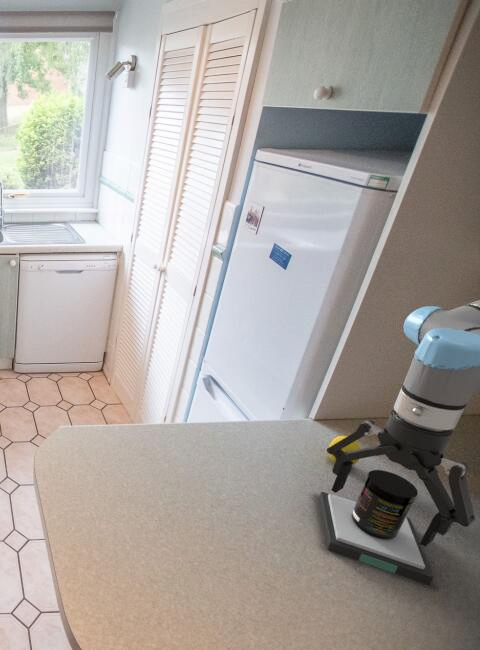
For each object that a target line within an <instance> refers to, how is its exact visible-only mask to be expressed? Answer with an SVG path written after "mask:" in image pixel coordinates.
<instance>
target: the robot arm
mask: <svg viewBox="0 0 480 650" xmlns="http://www.w3.org/2000/svg"><path fill="white" fill-rule="evenodd" d="M403 333H404V335H405V337H407V338H408V339H409V340H410V341H412V342H413V343H415V344H416V345H417V346H418V347H417V348H416V349H415V350H414V351H415V352H414V356H413V358H412V361H411V363H410V366H409V369H408V371H407V374H406V376H405V379H404V381H403V384H402V386H401V388H400V390H399V393H398V394H397V397H396V399H395V403H394V404H393V409H392V410H391V411H390V414H389V416H388V419H387V421H386V423H385V425H384V428H383V429H382V428H381V427H379V426H377V425H375V422H374V421H373V420H372V419H367V420H365V421H363V422H362V423H360V424H359V425H358V427H357V429H356V430H355V431H354V432H352V433H351V434H349V435H347V436H348V437H346V438H344V439H343V440H341V441H339V442H338V443H336V444H334V445H332V446H331V447H329V446H328V447H327V448H326V453H328V455H329V454H332V455H333V456H334V457H335V458H336V462H334V465H333V467H332V469H331V470H332V471H331V472H332V474H334V475H336V478H335V480H334V482H333V485H332V487H331V492H333V493H335V494H337V493H338V492H339V491H341V490H342V489H344V487H345V484H346V482H347V479H348V477H349V475H350V472H351V470H352V467H353V466H354V465H353V462H352V460H357V459H359V460H361V459H366V458H370V457H379V456H383V455H385V457H387V458H388V460H389V461H391V462H393V463H395V464H399V465H401V466H402V467H403V468H404V469H407V470H409V471H415V473H416V475H417V477H418V478H419V479H420V480H421V481H422V482H423V484H424V486H425V488H426V490H427V492H428V493H429V496H430V498H431V499H432V501H433V503H434V505H435V507H436V509H437V510H438V512H436V513H435V514H434V515H433V517H432V520H431V521H430V523H429V525H428V527H427V529H426V531H425V532H424V533H423V536H422V538H421V540H420V541H419V542H420V545H421V546H423V547H425V548H426V547H427V546H429V545H430V544H431V543H432V542H433V541H434V539H435V537H436V535H437V534H439V535H441V536H445V535H446V534H447V533H448V532H450V530H451V528H452V526H453V525H454V523H457V524H459V525H460V526H461V527H465V528H467V527H469V526H470V525H471V524H473V522H475V521H476V516H475V511H474V508H473V503H472V498H471V495H470V490H469V485H468V482H467V478H466V477H467V476H466V475H467V471H468V469H469V465H468V464H467V463H466V462H464V461H458V462H456V461H453V460H450V459H448V458H445V456H444V451H445V448H446V447H447V444H448V442H449V440H450V438H451V436H452V434H453V433H454V432H453V430H454V429H455V428H456V427H457V424H458V422H459V421H460V419H461V417H462V414H463V412H464V410H465V408H466V406H467V405H468V402H469V400H470V398H471V397H472V395H473V394H480V299H478V300H475V301H473V302H469V303H466V304H464V305H461V306H459V307H456V308H453V309H449V310H448V309H447V308H444V307H439V306H436V305H435V306H434V305H429V306H423V307H419V308H417V309H416V310H414V311H412V312H411V313H410V314H409V315H408V316H407V317H406V318H405V320H404V323H403ZM373 435H376V436H377V439H378V441H379V444H375V445H371V446H367V447H362V448H361V449H358V450H353V451H349V452H347V451H346V452H343V451H342V450H341V449H342V448H344V447H346V446H348V445H349V444H351V443H353V442H355V441H358V440H360V439H362V438H364V437H365V436H368V437H372V436H373ZM437 466H441V467H443V470H444V473H445V474H446V475H447V476H448V485H449V487H450V488H449V489H450V494H451V496H452V497H450V494H449V493H448V491H447V489H446V487H445V486H444V483H443V481H442V480H441V478H440V477H439V473H438V472H439V471H438V469H437Z"/></svg>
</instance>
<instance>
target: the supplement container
mask: <svg viewBox="0 0 480 650" xmlns="http://www.w3.org/2000/svg"><path fill="white" fill-rule="evenodd" d="M418 495H419V492H418V489H417V488H416V486H415V485H414V484H413V483H411V482H410V481H409V480H407V479H406V478H405V477H403V476H400V475H398V474H396V473H394V472H391V471H388V470H383V469H382V470H381V469H373V470H370V471H369V472H368V473H367V476H366V477H365V479H364V483H363V486H362V488H361V491H360V493H359V494H358V497H357V499H356V501H355V502H356V504H355V507H354V509H353V511H352V514H351V516H352V520H353V522H354V523H355V524H356V525H357V527H358V528H360V529H361V530H362V531H364V532H365V533H367V534H369V535H371V536H373V537H376V538H379V539H393V538H395V537H396V536H397V535H398V532H399V530H400V528H401V526H402V524H403V522H404V520H405V518H406V517H407V516H408V515H409V512H410V510H411V508H412V506H413V504H414V503H415V501H416V499H417V497H418Z"/></svg>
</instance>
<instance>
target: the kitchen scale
mask: <svg viewBox="0 0 480 650" xmlns="http://www.w3.org/2000/svg"><path fill="white" fill-rule="evenodd" d="M317 498H318V502H319V503H318V504H319V510H320V515H321V521H322V527H323V533H324V539H325V545H326V550H327V551H330V552H333V553H336V554H339V555H342V556H344V557H347V558H350V559H352V560H356V561H358V562H361V563H363V564H366V565H368V566H372V567H375V568H377V569H381V570H383V571H387V572H389V573H392V574H396V575H399V576H402V577H405V578H407V579H411V580H413V581H416V582H419V583H422V584H425V585H427V586H430V584H431V582H432V581H433V579H434V576H433V574H432V570H431V568H430V565H429V563H428V560H427V558H426V555H425V553H424V550H423V548H422V545H421V544H420V542H421V541H420V540H419V537H418V535H417V533H416V530H415V527H414V525H413V522H412V519H411V518H410V517H407V516H406V518H405V520H404V522H403V524H402V526H401V528H400V530H399V532H398V535H397V536H396V537H395V538H393V539H379V538H376V537H373V536H371V535H369V534H367V533H365V532H364V531H362V530H361V529H360V528H358V527H357V525H356V524H355V523H354V522H353V520H352V516H351V514H352V511H353V509H354V507H355V504H356V502H357V501H355V500H352V499H348V498H345V497H341V496H338V495H335V494H332V493H327V492H325V491H320V494H319V495H318V497H317Z"/></svg>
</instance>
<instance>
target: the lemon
mask: <svg viewBox="0 0 480 650" xmlns="http://www.w3.org/2000/svg"><path fill="white" fill-rule="evenodd" d="M348 436H349V435H339V436H337V437H335V438H333V440H332V441H331V442H330V444H329V446H328V448H329V447H331V446H332V445H334V444H336V443H338V442H339V441H341V440H343V439H344V438H346V437H348ZM358 449H362V448H361V445H360V443H359V442H358V440H356V441H355V442H353V443H351V444H349V445H348V446H346V447H344V448H342V449H341V450H342V451H343V452H346V451H347V452H349V451H353V450H358ZM328 456H329V458H330V460H331V461H332V462H333V463H335V462H336V458H335V457H334V456H333V455H332V454H329V453H328ZM359 460H360V459H357V460H352V462H353V465H352V466H354V465H356V464H357V463H358V462H359Z"/></svg>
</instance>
